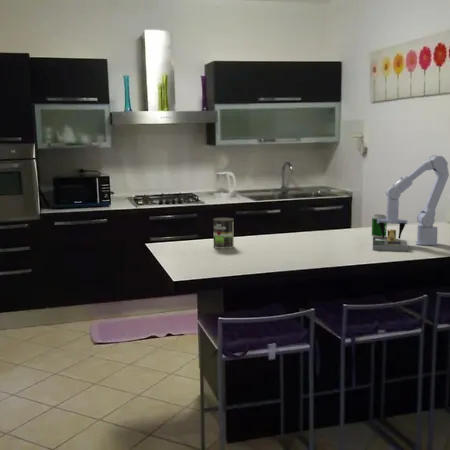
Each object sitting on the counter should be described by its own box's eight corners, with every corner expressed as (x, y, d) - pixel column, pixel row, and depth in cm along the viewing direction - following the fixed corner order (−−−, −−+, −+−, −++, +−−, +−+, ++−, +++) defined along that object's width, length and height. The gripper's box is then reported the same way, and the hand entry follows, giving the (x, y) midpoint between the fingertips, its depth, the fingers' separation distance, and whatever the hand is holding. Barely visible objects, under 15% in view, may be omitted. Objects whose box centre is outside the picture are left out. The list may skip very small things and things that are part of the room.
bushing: (395, 243, 284) (395, 229, 282) (395, 244, 280) (396, 231, 279) (387, 242, 285) (387, 229, 284) (387, 244, 281) (387, 230, 280)
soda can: (382, 239, 294) (383, 216, 292) (369, 237, 298) (369, 215, 296) (388, 237, 300) (389, 214, 298) (374, 235, 304) (375, 213, 302)
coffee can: (228, 249, 274) (227, 221, 272) (209, 247, 279) (209, 219, 277) (237, 245, 283) (237, 218, 281) (219, 244, 288) (219, 216, 286)
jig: (406, 246, 276) (406, 238, 275) (407, 251, 264) (408, 243, 264) (372, 245, 280) (372, 237, 279) (372, 250, 268) (372, 241, 268)
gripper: (377, 211, 278) (376, 238, 280) (408, 212, 274) (406, 239, 276) (377, 209, 284) (376, 236, 287) (407, 210, 281) (406, 237, 283)
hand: (391, 237), depth 282 cm, fingers open, 7 cm apart
